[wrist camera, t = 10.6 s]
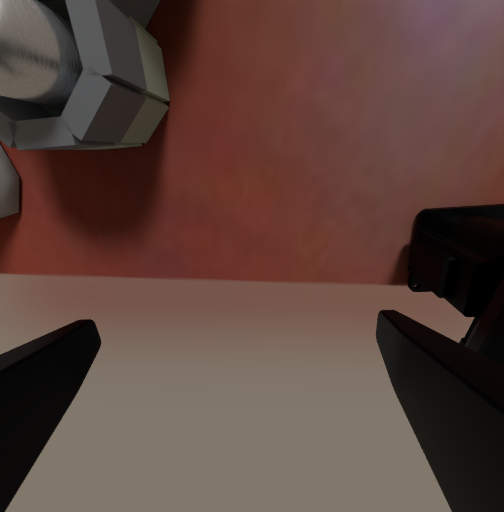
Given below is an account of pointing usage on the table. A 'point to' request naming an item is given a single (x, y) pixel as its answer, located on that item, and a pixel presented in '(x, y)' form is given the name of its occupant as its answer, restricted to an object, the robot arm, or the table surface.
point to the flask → (8, 187)
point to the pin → (37, 53)
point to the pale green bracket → (154, 96)
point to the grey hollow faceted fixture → (89, 83)
